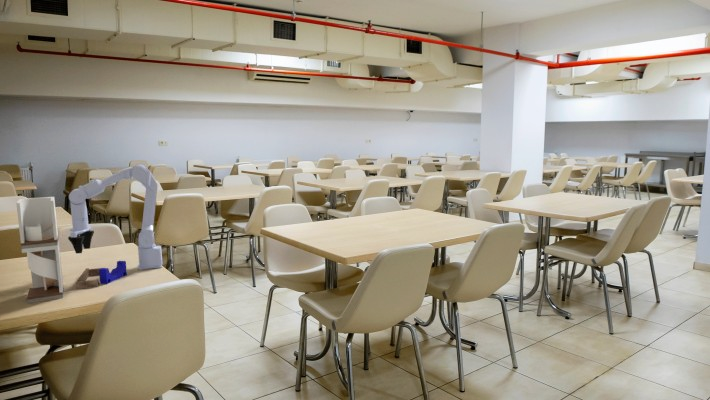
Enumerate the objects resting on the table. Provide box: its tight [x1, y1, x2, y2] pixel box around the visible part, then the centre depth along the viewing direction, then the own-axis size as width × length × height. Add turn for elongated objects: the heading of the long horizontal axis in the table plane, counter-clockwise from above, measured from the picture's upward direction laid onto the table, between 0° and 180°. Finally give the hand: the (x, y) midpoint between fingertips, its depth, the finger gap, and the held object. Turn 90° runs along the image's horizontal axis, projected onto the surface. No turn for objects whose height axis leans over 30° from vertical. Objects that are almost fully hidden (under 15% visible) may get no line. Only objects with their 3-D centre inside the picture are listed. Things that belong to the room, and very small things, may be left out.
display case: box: [16, 196, 64, 304], centre depth 178 cm, size 11×11×35 cm
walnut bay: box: [76, 267, 101, 289], centre depth 197 cm, size 7×18×3 cm, turn 18°
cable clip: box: [99, 260, 128, 285], centre depth 199 cm, size 12×4×6 cm, turn 169°
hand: (83, 250), depth 205 cm, fingers open, 7 cm apart
